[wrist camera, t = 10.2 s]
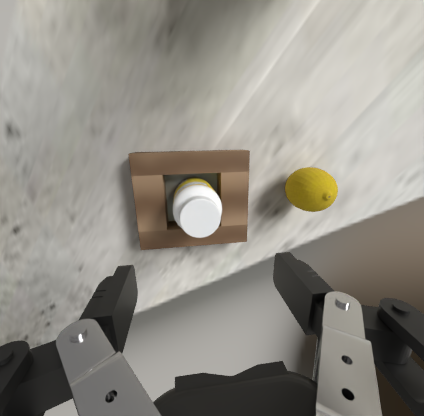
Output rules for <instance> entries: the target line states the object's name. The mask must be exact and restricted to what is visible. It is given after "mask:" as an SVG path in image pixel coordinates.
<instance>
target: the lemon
mask: <svg viewBox="0 0 424 416" xmlns="http://www.w3.org/2000/svg"><path fill="white" fill-rule="evenodd" d="M337 192H338V187H337V184H336V181H335V180H334V178H333V177H332V176H331V175H329V174H328V173H327V172H325V171H323V170H321V169H318V168H310V167H307V168H302V169H299V170H297V171H295V172H294V173H292V174H291V175H290V177H289V178H288V180H287V182H286V185H285V193H286V196H287V198H288V200H289V201H290V202H291V203H292V204H293V205H294V206H295V207H297V208H299V209H302V210H305V211H311V212H315V211H321V210H324V209H326V208H328V207H329V206H330V205H331V204H332V203H333V202H334V201H335V199H336V197H337Z"/></svg>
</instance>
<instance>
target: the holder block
mask: <svg viewBox="0 0 424 416" xmlns="http://www.w3.org/2000/svg"><path fill="white" fill-rule="evenodd" d="M249 155H250V151H248V150H212V151H171V152H134V153H130V154H129V162H130V169H131V177H132V185H133V193H134V200H135V208H136V216H137V224H138V231H139V239H140V247H141V250H148V249H161V248H173V247H186V246H198V245H211V244H223V243H236V242H247V218H248V187H249ZM189 177H199V178H202V179H204V180H205V181H207V182H208V183H209V184H210V185H211V187H212V188H213V189H214V191H215V192H216V193H217V195H218V196H219V198H220V200H221V204H222V214H221V220H220V224H219V226H218V228H217V230H216V231H215V232H214V233H212V234H211V235H209V236H207V237H203V238H196V237H192V236H190V235H188V234H187V233H186V232H185V231H184V230H183V229H182V228H181V227H180V226H179V225H178V224H177V222H176V221H175V219H174V215H173V201H174V193H175V189H176V187H177V186H178V184H179V183H180V182H181V181H182V180H184V179H186V178H189Z"/></svg>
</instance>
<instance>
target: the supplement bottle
mask: <svg viewBox="0 0 424 416" xmlns="http://www.w3.org/2000/svg"><path fill="white" fill-rule="evenodd" d="M221 214H222V204H221V200H220V198H219V196H218V195H217V193H216V192H215V191H214V189H213V188H212V187H211V185H210V184H209V183H208V182H207V181H205V180H204V179H202V178H199V177H189V178H186V179H184V180H182V181H181V182H180V183H179V184H178V186H177V187H176V189H175V193H174V201H173V215H174V219H175V221H176V222H177V224H178V225H179V226H180V227H181V228H182V229H183V230H184V231H185V232H186V233H187V234H188V235H190V236H192V237H196V238H203V237H207V236H209V235H211V234H212V233H214V232H215V231H216V230H217V228H218V226H219V224H220V220H221Z"/></svg>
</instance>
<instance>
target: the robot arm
mask: <svg viewBox="0 0 424 416" xmlns="http://www.w3.org/2000/svg"><path fill="white" fill-rule="evenodd" d="M273 280H274V284H275V287H276V288H277V290H278V291H279V293H280V295H281V296H282V298H283V299H284V301H285V303H286V304H287V306H288V307H289V309H290V310H291V312H292V314H293V315H294V317H295V318H296V320H297V322H298V323H299V325H300V326H301V328H302V329H303V331H304V333H305V334H306V335H312V334H316V335H317V337H318V340H317V346H316V355H315V364H314V372H313V380H312V379H309V378H308V377H306V376H304V375H301V374H298V373H295V372H291V371H287V369H286V367H285V365H284V363H283V361H279V362H273V363H266V364H260V365H256V366H254V367H252V368H249V369H247V370H245V371H243V372H241V373H239V374H237V375H234V376H224V375H216V374H208V373H199V374H192V375H185V376H179V377H175V388H173V389H171V390H169V391H167V392H166V393H164V394H163V395H161V396H160V397H159V398H157V399H156V400H155V401H154V402H152V400H151V399H150V397H149V396H148V394H147V393H146V391H145V389H144V388H143V386H142V385H141V383H140V382H139V380H138V378H137V377H136V375H135V374H134V372H133V370H132V369H131V367H130V366H129V364H128V363H127V361H126V359H125V358H124V356H123V355H122V352H123V349H124V346H125V342H126V338H127V334H128V331H129V328H130V323H131V320H132V317H133V313H134V309H135V306H136V302H137V295H138V291H137V283H136V276H135V269H134V266H133V265H126V266H118V267H117V269H116V271H115V273H114V275H113V276H109V277H106V278H105V279H104V280H103V281H102V282H101V283H100V284H99V285H98V287H97V289H96V291H95V292H94V294H93V296H92V299H90V301H89V303H88V305H87V306H86V308H85V310H84V312H83V313H82V315H81V317H80V319H79V320H78V321H76V322H74V323H72V324H70V325H69V326H67V327H66V328H65V329H64V330H63V331H62V332H61V333H60V334H59V335H58V337H57V340H55V341H52V342H49V343H47V344H44V345H41V346H38V347H35V348H32V349H30V347H29V344H28V343H27V342H25V341H14V342H10V343H7V344H5V345H3V346H1V347H0V416H43V415H44V413H45V411H46V410H48V409H51V408H53V407H55V406H57V405H59V404H61V403H63V402H66V401H68V400H70V399H72V398H73V400H74V403H75V406H76V409H77V412H78V415H79V416H382V413H381V406H380V399H379V393H378V386H377V379H376V372H375V365H376V367H377V368H378V369H379V371H380V372H381V373H382V374H383V375H384V377H385V378H386V379H387V381H388V382H389V383H390V384H391V386H392V387H393V388H394V389H395V391H396V392H397V393H398V394H399V396H400V397H401V398H402V399H403V401H404V402H405V403H406V404H407V406H408V407H409V408H410V410H411V411H412V412H413V413H414V415H415V416H424V370H422V368H421V367H419V365H418V364H417V363H416V362H415V361H414V360H413V359H412V358H411V357H410V354H411V352H412V350H413V351H414V352H415V353H416V354H417V355H418V356H419V357H420V358H421V359H422V360H423V361H424V314H422V313H421V312H420V311H419V310H417V309H416V308H414V307H413V306H411V305H410V304H408V303H406V302H403V301H401V300H397V299H393V298H384V299H382V300H381V301H380V304H379V307H372V306H364V305H360V303H359V302H358V301H357V300H356V299H355V298H353V297H352V296H350V295H347V294H345V293H342V292H335V291H334V290H333V289H332V288H331V287H330V286H329V285H328V284H327V283H326V282H325V281H324V280H323V279H322V278H321V277H320V276H318V274H317V273H316V272H315V271H314V270H313V269H312V268H311V267H310V266H309V265H307V264H306V263H304V262H302V261H300V260H297V259H296V258H295V257H294V256H293V255H292V254H291V253H290V252H285V253H276V255H275V262H274V273H273ZM374 364H375V365H374Z"/></svg>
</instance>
